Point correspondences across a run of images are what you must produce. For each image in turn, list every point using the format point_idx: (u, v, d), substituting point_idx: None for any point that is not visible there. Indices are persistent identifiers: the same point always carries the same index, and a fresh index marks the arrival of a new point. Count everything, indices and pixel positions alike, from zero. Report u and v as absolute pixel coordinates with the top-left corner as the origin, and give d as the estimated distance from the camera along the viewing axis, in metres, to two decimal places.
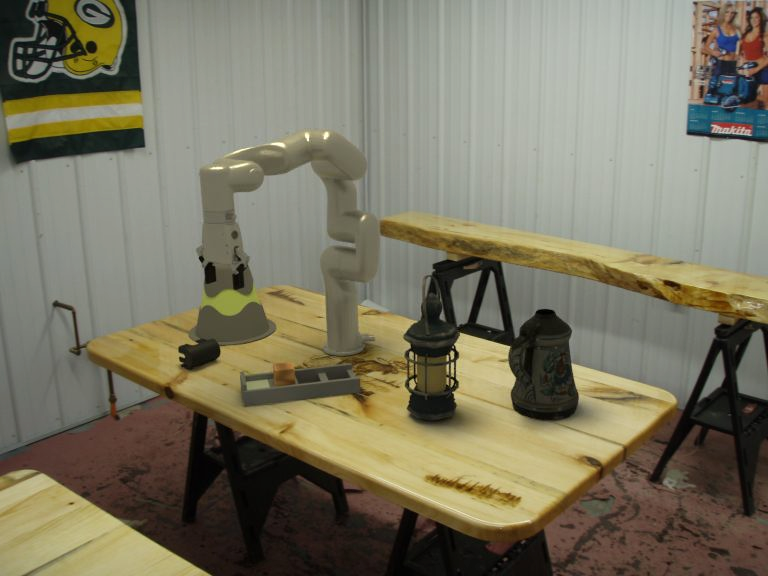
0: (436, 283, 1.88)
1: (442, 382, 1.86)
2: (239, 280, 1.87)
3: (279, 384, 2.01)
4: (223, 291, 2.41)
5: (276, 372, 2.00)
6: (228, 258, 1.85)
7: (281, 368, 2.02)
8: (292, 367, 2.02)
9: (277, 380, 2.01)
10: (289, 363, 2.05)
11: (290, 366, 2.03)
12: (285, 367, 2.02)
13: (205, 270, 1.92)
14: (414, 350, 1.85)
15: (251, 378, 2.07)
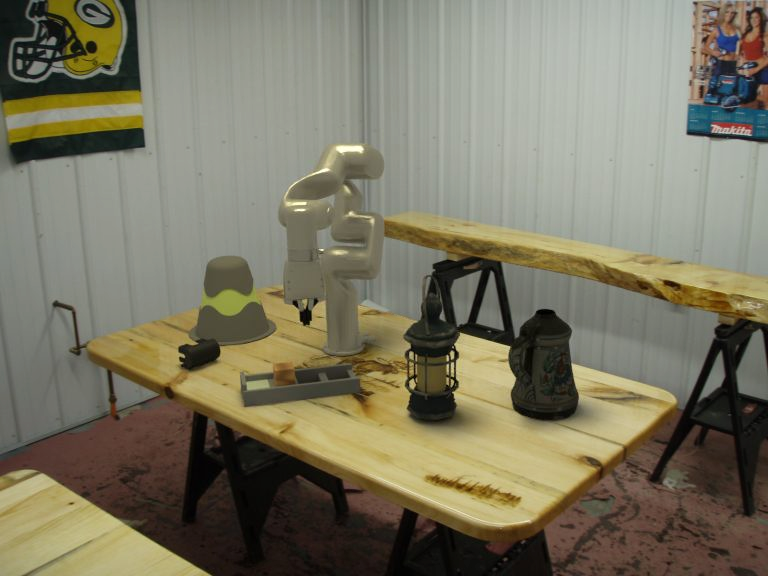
0: (436, 283, 1.88)
1: (442, 382, 1.86)
2: (311, 315, 2.00)
3: (279, 384, 2.01)
4: (223, 291, 2.41)
5: (276, 372, 2.00)
6: (322, 290, 1.98)
7: (281, 368, 2.02)
8: (292, 367, 2.02)
9: (277, 380, 2.01)
10: (289, 363, 2.05)
11: (290, 366, 2.03)
12: (285, 367, 2.02)
13: (304, 313, 1.99)
14: (414, 350, 1.85)
15: (251, 378, 2.07)
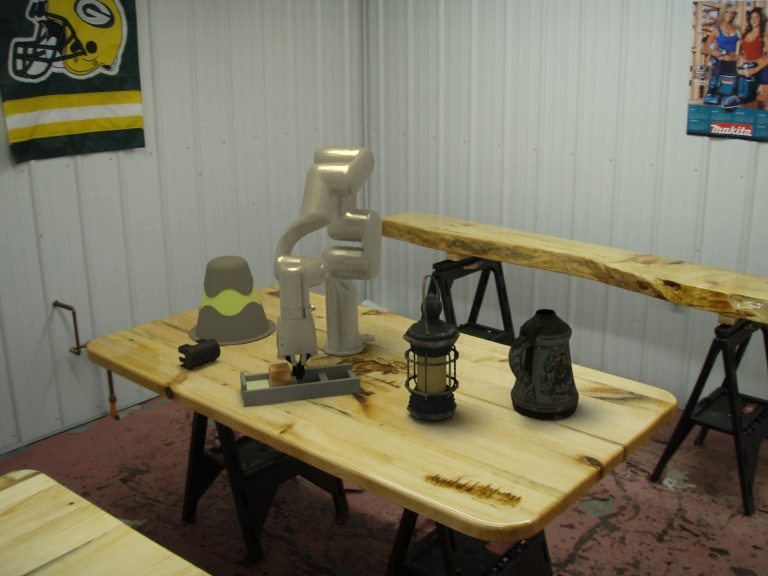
0: (436, 283, 1.88)
1: (442, 382, 1.86)
2: None
3: (275, 385, 2.01)
4: (223, 291, 2.41)
5: (272, 373, 2.00)
6: (314, 346, 2.01)
7: (277, 368, 2.01)
8: (288, 368, 2.02)
9: (273, 381, 2.01)
10: (284, 363, 2.05)
11: (286, 367, 2.02)
12: (281, 368, 2.02)
13: (297, 367, 2.02)
14: (414, 350, 1.85)
15: (251, 378, 2.07)
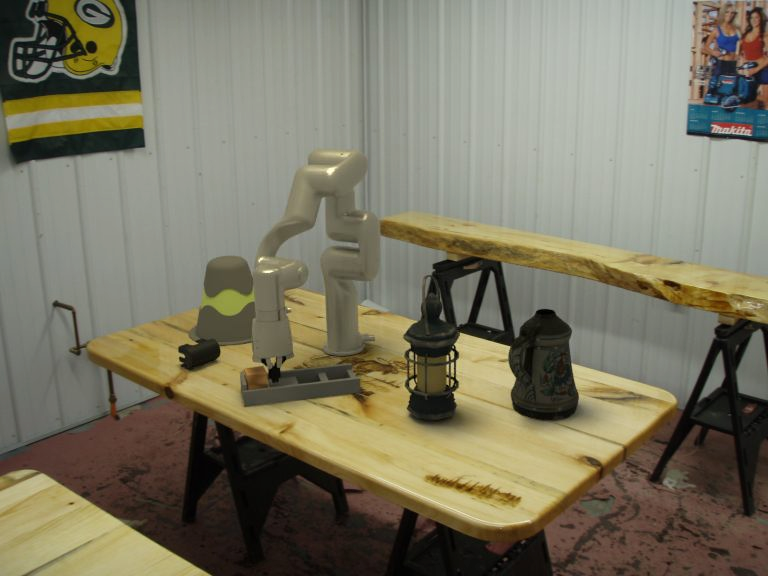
0: (436, 283, 1.88)
1: (442, 382, 1.86)
2: None
3: (251, 389, 1.99)
4: (223, 291, 2.41)
5: (248, 377, 1.98)
6: (290, 348, 2.00)
7: (253, 372, 1.99)
8: (264, 371, 2.00)
9: (249, 385, 1.99)
10: (260, 367, 2.03)
11: (262, 370, 2.01)
12: (257, 372, 2.00)
13: (273, 370, 2.01)
14: (414, 350, 1.85)
15: None
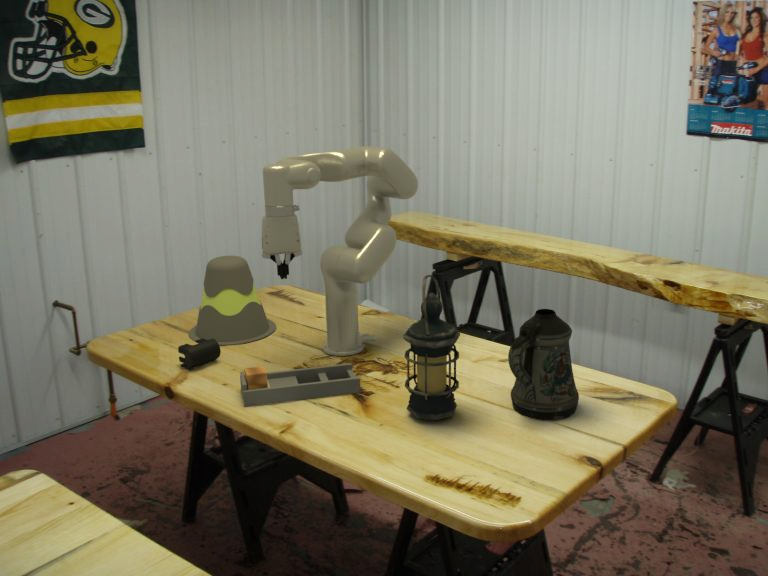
0: (436, 283, 1.88)
1: (442, 382, 1.86)
2: (288, 269, 2.11)
3: (251, 389, 1.99)
4: (223, 291, 2.41)
5: (248, 376, 1.98)
6: (298, 245, 2.09)
7: (253, 372, 1.99)
8: (264, 371, 2.00)
9: (249, 385, 1.99)
10: (260, 367, 2.03)
11: (262, 370, 2.01)
12: (257, 372, 2.00)
13: (282, 266, 2.10)
14: (414, 350, 1.85)
15: None
